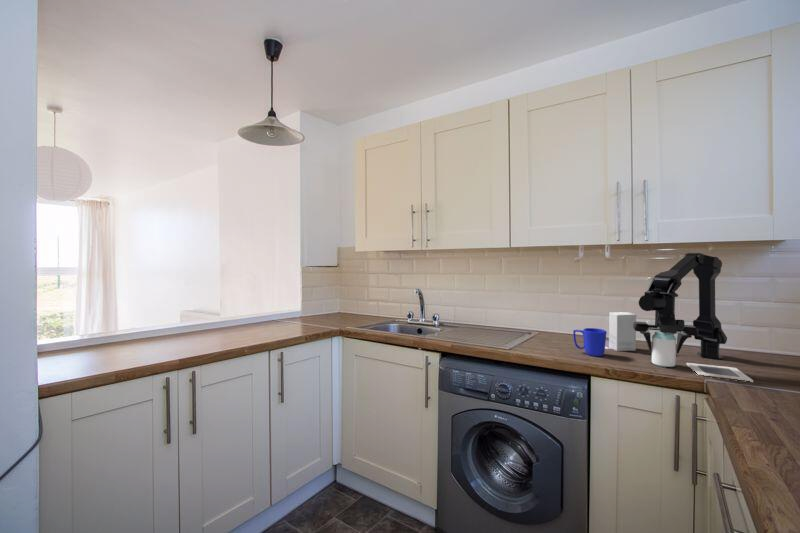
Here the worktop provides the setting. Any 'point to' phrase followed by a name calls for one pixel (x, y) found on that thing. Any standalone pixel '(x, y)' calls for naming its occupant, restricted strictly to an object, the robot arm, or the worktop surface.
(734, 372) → the dock
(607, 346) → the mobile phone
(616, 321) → the skincare box
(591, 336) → the mug
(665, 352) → the can
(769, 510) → the worktop surface
